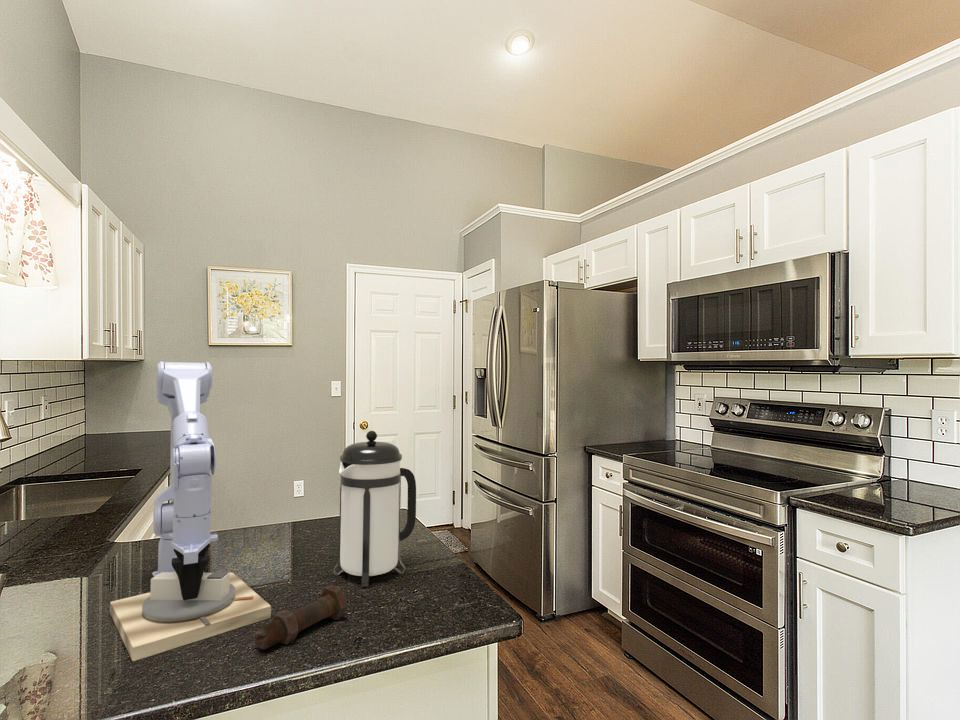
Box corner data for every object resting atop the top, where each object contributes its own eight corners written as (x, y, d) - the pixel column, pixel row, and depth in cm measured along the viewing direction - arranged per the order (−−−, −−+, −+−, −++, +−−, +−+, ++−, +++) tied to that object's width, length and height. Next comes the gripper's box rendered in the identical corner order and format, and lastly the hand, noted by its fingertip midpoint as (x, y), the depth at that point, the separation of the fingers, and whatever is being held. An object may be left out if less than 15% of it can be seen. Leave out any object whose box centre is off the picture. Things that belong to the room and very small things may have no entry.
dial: (121, 621, 82) (122, 591, 82) (173, 584, 96) (174, 559, 96) (209, 622, 82) (210, 591, 82) (248, 585, 96) (249, 559, 96)
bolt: (256, 663, 78) (334, 621, 91) (273, 656, 76) (351, 613, 88) (245, 625, 80) (323, 588, 92) (261, 616, 78) (339, 580, 90)
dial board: (110, 613, 90) (110, 600, 90) (231, 582, 103) (231, 570, 103) (132, 661, 75) (133, 646, 75) (270, 617, 89) (271, 604, 89)
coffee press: (405, 589, 101) (407, 435, 102) (323, 588, 101) (326, 434, 102) (415, 557, 118) (417, 426, 119) (345, 556, 118) (348, 425, 119)
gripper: (219, 521, 85) (217, 604, 85) (217, 501, 98) (215, 573, 98) (169, 526, 82) (167, 613, 81) (174, 505, 95) (172, 580, 94)
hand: (190, 592), depth 89 cm, fingers closed on dial, 5 cm apart
